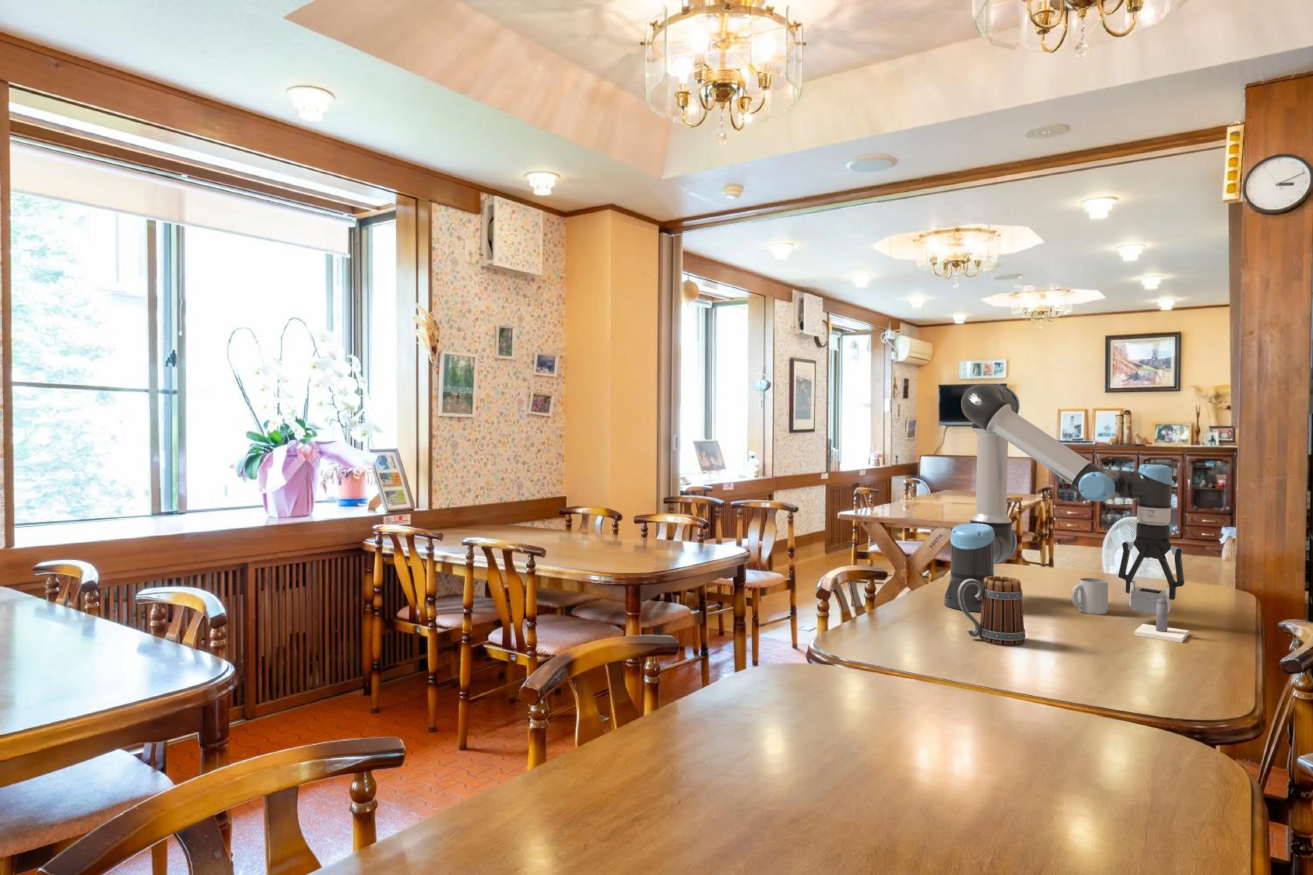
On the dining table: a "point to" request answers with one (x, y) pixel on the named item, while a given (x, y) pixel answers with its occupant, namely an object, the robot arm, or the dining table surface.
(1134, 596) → the grey square storage bin
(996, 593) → the mug
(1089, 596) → the cup
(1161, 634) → the peg stand
